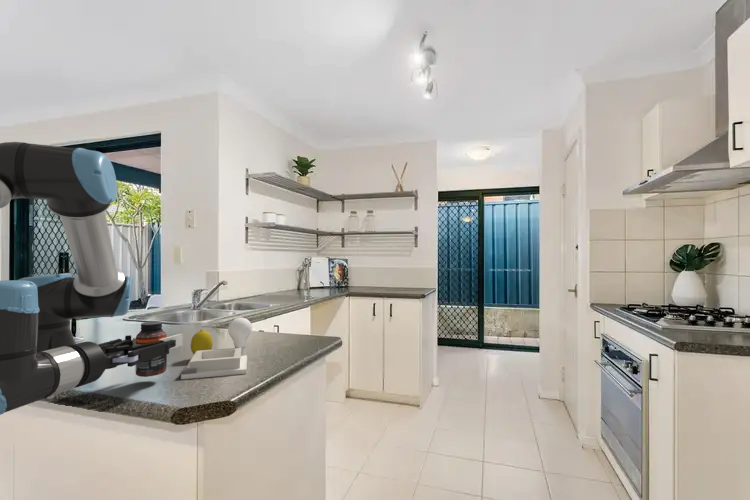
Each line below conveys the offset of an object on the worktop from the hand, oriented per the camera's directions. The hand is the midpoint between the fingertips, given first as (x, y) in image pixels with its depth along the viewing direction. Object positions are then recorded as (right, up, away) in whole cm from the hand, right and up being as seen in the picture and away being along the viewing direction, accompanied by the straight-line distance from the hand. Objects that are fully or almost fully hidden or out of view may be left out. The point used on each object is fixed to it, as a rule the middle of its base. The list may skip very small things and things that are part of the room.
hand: (169, 338), depth 86 cm
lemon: (+1, -9, +14) cm, 17 cm away
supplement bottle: (-1, -7, -5) cm, 8 cm away
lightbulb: (+11, -9, +17) cm, 22 cm away
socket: (+9, -9, +6) cm, 14 cm away
